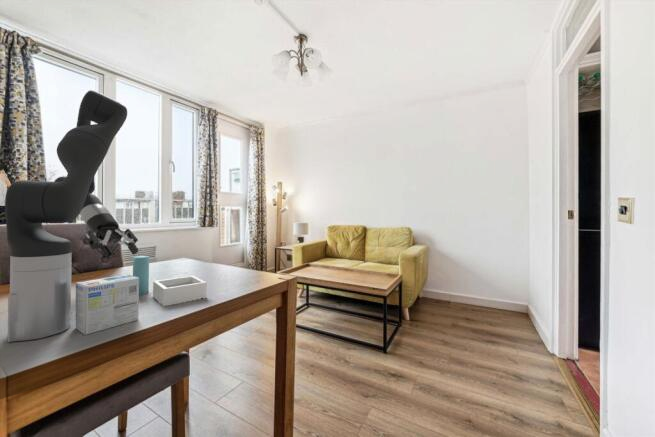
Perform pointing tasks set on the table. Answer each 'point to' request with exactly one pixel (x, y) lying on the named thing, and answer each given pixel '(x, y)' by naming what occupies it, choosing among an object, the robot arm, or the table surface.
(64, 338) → the table surface
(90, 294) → the light bulb box
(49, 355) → the table surface
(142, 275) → the peg
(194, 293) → the hole box
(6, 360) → the table surface
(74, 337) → the table surface
